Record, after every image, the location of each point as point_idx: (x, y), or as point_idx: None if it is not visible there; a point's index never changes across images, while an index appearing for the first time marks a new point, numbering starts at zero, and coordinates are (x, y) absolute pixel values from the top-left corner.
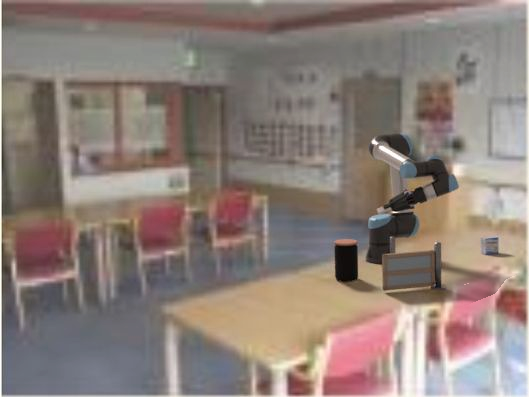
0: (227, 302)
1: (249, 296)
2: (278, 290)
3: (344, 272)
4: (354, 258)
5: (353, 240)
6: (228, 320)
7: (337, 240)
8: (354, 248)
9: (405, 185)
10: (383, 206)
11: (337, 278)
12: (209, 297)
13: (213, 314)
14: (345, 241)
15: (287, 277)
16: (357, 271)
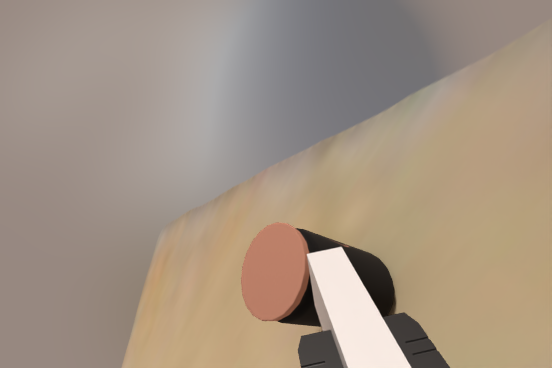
0: (182, 260)
1: (203, 254)
2: (234, 255)
3: None
4: (312, 325)
5: (292, 280)
6: (146, 333)
7: (266, 232)
8: (285, 322)
9: None
10: (301, 351)
11: None
12: (188, 221)
13: (155, 295)
14: (266, 270)
15: (291, 178)
16: None
